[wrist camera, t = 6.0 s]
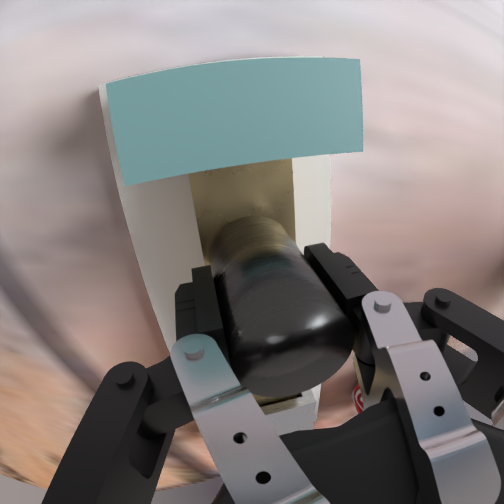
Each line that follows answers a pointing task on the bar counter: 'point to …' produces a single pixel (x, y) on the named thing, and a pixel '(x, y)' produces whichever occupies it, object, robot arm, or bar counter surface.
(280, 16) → the bar counter surface
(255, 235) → the tan knobbed slider
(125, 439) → the robot arm
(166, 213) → the board
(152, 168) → the socket
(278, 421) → the steel sleeve
